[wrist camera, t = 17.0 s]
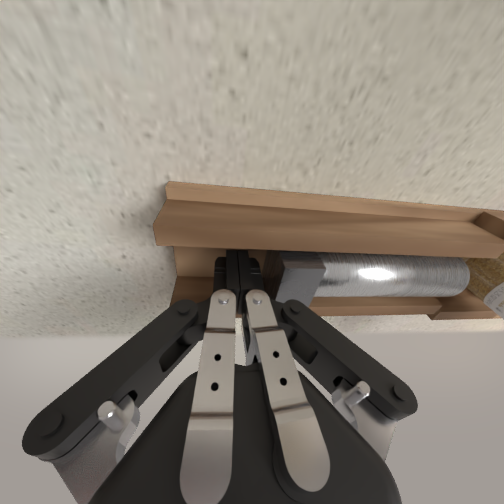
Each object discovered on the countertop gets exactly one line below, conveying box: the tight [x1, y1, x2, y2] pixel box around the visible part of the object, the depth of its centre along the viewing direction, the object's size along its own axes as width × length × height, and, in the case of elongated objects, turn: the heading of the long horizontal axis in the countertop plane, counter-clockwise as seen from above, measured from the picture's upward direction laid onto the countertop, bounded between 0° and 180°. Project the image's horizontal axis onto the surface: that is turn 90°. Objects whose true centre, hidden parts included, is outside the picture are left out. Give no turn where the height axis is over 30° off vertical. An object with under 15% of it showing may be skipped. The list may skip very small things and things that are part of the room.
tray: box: [153, 181, 504, 320], centre depth 16 cm, size 9×31×4 cm, turn 82°
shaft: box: [262, 250, 470, 307], centre depth 15 cm, size 4×14×4 cm, turn 82°
